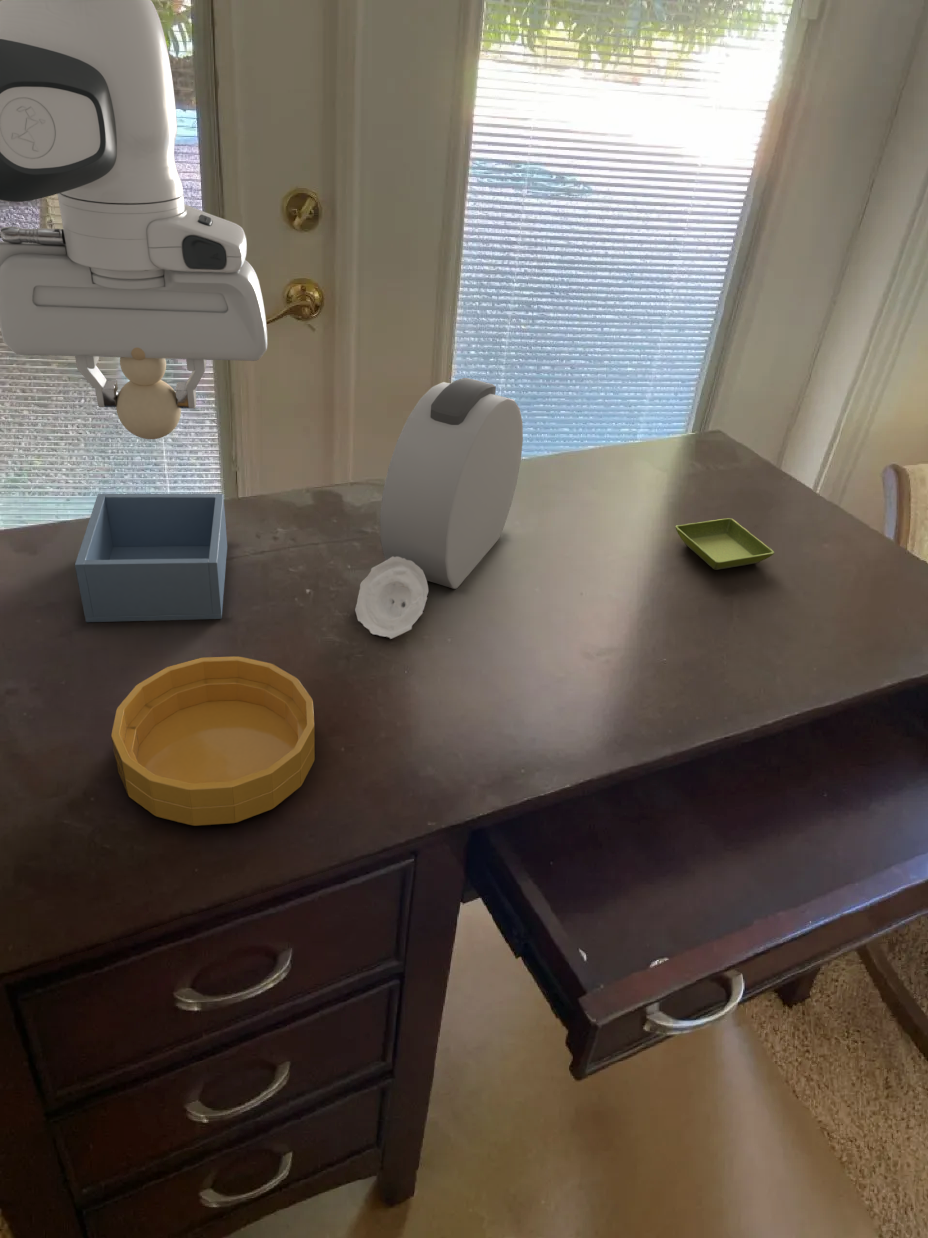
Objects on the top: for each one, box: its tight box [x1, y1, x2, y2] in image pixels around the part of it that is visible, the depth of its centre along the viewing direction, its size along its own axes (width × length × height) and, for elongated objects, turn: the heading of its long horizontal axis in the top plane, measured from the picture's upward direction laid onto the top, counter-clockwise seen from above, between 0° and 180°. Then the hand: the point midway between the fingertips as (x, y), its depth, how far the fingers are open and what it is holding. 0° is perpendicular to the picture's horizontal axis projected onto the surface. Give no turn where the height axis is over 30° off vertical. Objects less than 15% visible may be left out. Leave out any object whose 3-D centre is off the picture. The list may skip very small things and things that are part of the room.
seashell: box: [354, 556, 429, 640], centre depth 89 cm, size 8×5×8 cm
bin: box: [74, 493, 228, 623], centre depth 90 cm, size 13×14×7 cm
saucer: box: [674, 517, 775, 571], centre depth 106 cm, size 9×9×2 cm
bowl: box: [110, 656, 316, 827], centre depth 71 cm, size 15×15×4 cm
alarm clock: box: [379, 377, 524, 590], centre depth 96 cm, size 21×8×20 cm, turn 156°
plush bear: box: [115, 348, 182, 440], centre depth 74 cm, size 5×5×9 cm
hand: (149, 405), depth 75 cm, fingers closed on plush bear, 5 cm apart
